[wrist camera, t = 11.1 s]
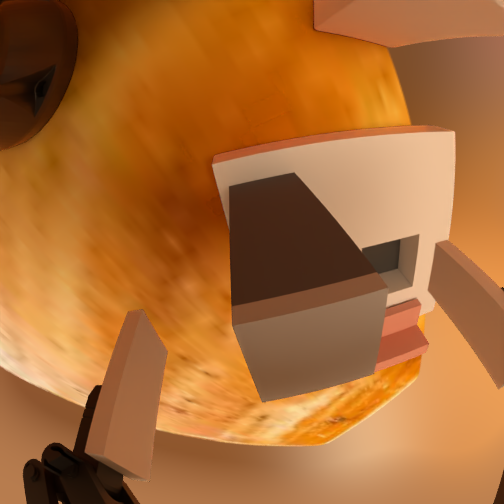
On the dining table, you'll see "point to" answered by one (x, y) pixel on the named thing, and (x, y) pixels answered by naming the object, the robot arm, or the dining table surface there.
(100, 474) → the robot arm
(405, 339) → the salmon red stepped block
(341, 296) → the plug
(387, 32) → the milk carton
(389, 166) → the socket plate
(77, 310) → the dining table surface
